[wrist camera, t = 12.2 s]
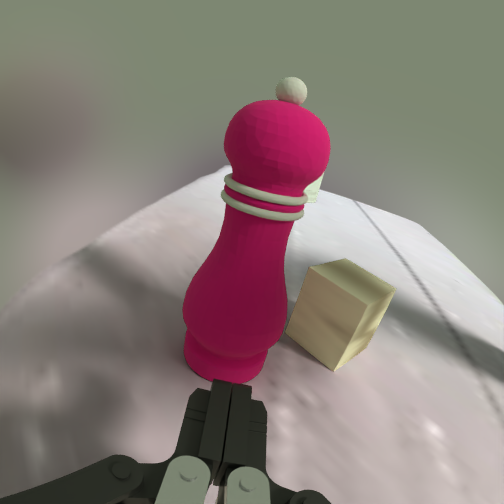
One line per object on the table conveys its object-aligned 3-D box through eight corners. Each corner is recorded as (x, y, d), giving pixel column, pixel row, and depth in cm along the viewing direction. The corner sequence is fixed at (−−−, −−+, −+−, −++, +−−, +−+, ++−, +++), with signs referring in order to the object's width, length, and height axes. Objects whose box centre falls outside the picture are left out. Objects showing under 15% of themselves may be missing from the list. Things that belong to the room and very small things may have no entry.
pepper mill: (167, 329, 24) (214, 64, 16) (246, 322, 28) (309, 93, 20) (193, 398, 19) (269, 52, 11) (284, 380, 22) (384, 102, 14)
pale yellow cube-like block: (318, 314, 32) (341, 256, 29) (365, 348, 28) (396, 288, 25) (280, 329, 28) (304, 264, 25) (333, 372, 24) (367, 305, 21)
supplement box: (316, 203, 84) (328, 160, 79) (300, 203, 79) (313, 156, 74) (296, 194, 89) (307, 153, 84) (279, 193, 84) (291, 149, 79)
